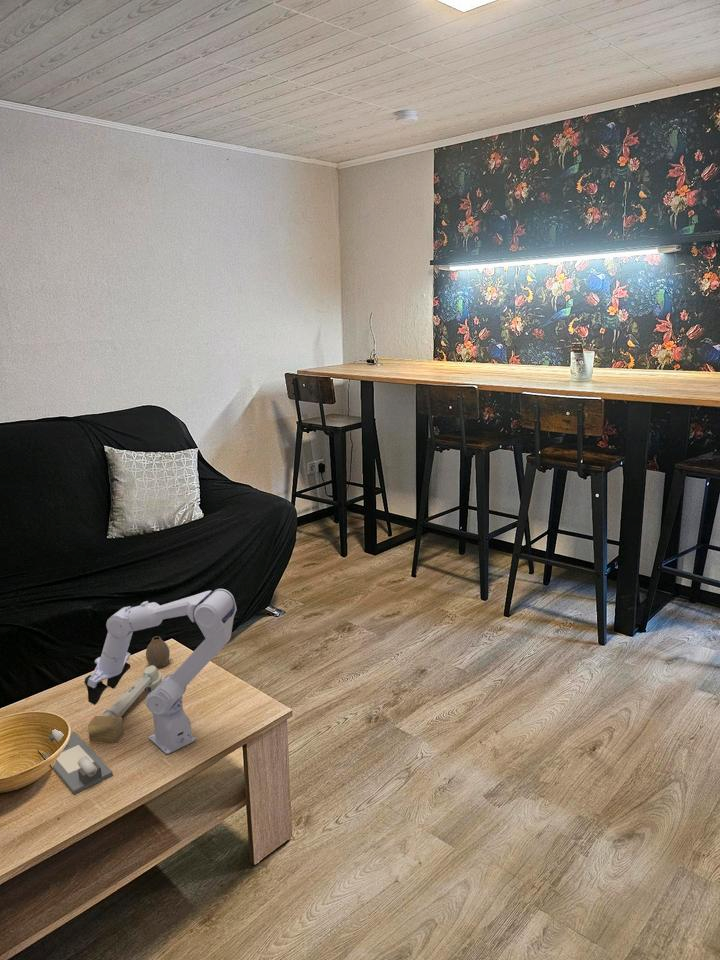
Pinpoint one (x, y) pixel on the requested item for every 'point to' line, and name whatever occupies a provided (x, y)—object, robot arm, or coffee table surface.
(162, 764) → the coffee table surface
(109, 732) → the block
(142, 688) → the grey long handheld tool
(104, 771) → the coupling bed
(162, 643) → the vase
